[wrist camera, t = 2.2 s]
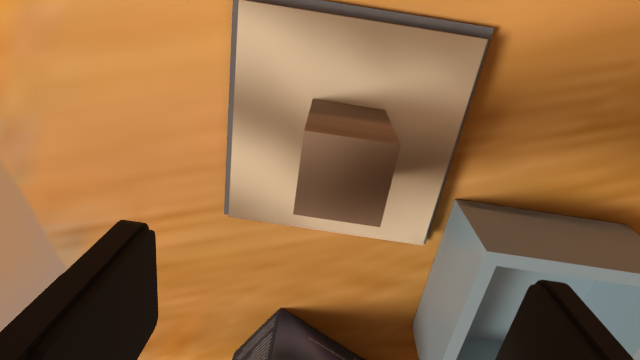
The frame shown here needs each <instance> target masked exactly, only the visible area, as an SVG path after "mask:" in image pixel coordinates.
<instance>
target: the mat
mask: <svg viewBox="0 0 640 360" xmlns="http://www.w3.org/2000/svg"><path fill="white" fill-rule="evenodd" d="M247 1H253V2H259V3H266V4H272V5H278V6H284V7H291V8H297V9H303V10H309V11H316V12H322V13H328V14H334V15H341V16H347V17H353V18H359V19H366V20H372V21H378V22H384V23H391V24H397V25H403V26H410V27H416V28H422V29H428V30H435V31H441V32H447V33H453V34H460V35H466V36H472V37H478V38H483V39H488V41H487V44H486V47H485V50H484V54H483V57H482V60H481V63H480V66H479V69H478V73H477V76H476V79H475V82H474V85H473V88H472V92H471V95H470V98H469V101H468V104H467V107H466V110H465V114H464V117H463V120H462V123H461V126H460V129H459V133H458V136H457V139H456V142H455V145H454V148H453V152H452V155H451V158H450V161H449V164H448V167H447V170H446V174H445V177H444V180H443V183H442V186H441V189H440V193H439V196H438V199H437V202H436V205H435V208H434V212H433V215H432V218H431V221H430V224H429V227H428V230H427V234H426V237H425V240H424V244H426V240H427V237H428V234H429V231H430V228H431V225H432V222H433V219H434V215H435V212H436V209H437V206H438V203H439V200H440V197H441V193H442V190H443V187H444V184H445V181H446V178H447V175H448V172H449V168H450V165H451V162H452V159H453V156H454V153H455V150H456V147H457V143H458V140H459V137H460V134H461V131H462V128H463V125H464V122H465V118H466V115H467V112H468V109H469V106H470V103H471V100H472V96H473V93H474V90H475V87H476V84H477V81H478V78H479V75H480V71H481V68H482V65H483V62H484V59H485V56H486V53H487V50H488V46H489V43H490V40H491V37H492V34H493V31H494V28H491V27H485V26H479V25H473V24H467V23H460V22H454V21H448V20H442V19H435V18H429V17H423V16H417V15H411V14H404V13H398V12H392V11H386V10H379V9H373V8H367V7H361V6H355V5H348V4H342V3H336V2H330V1H323V0H247ZM238 4H239V0H233V12H232V37H231V61H230V85H229V110H228V134H227V158H226V183H225V207H224V214H227V215H229V196H230V174H231V153H232V132H233V110H234V89H235V68H236V46H237V25H238Z"/></svg>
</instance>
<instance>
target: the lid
mask: <svg viewBox="0 0 640 360" xmlns="http://www.w3.org/2000/svg"><path fill="white" fill-rule="evenodd" d="M487 41H488V39H483V38H478V37H472V36H466V35H460V34H453V33H447V32H441V31H435V30H428V29H422V28H416V27H410V26H403V25H397V24H391V23H384V22H378V21H372V20H366V19H359V18H353V17H347V16H341V15H334V14H328V13H322V12H316V11H309V10H303V9H297V8H291V7H284V6H278V5H272V4H266V3H259V2H253V1H247V0H239V4H238V25H237V46H236V68H235V89H234V110H233V132H232V153H231V174H230V196H229V217H233V218H240V219H247V220H254V221H261V222H267V223H274V224H281V225H288V226H294V227H301V228H308V229H315V230H322V231H328V232H335V233H342V234H349V235H355V236H362V237H369V238H376V239H383V240H389V241H396V242H403V243H410V244H416V245H423V243H424V240H425V237H426V234H427V230H428V227H429V224H430V221H431V218H432V215H433V212H434V208H435V205H436V202H437V199H438V196H439V193H440V189H441V186H442V183H443V180H444V177H445V174H446V170H447V167H448V164H449V161H450V158H451V155H452V152H453V148H454V145H455V142H456V139H457V136H458V133H459V129H460V126H461V123H462V120H463V117H464V114H465V110H466V107H467V104H468V101H469V98H470V95H471V92H472V88H473V85H474V82H475V79H476V76H477V73H478V69H479V66H480V63H481V60H482V57H483V54H484V50H485V47H486V44H487Z"/></svg>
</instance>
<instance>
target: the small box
mask: <svg viewBox="0 0 640 360" xmlns="http://www.w3.org/2000/svg"><path fill="white" fill-rule="evenodd" d="M232 360H363V359H361V358H360V357H358V356H357V355H355V354H353V353H352V352H350V351H349V350H347V349H345V348H344V347H342V346H341V345H339V344H338V343H336V342H334V341H333V340H331V339H330V338H328V337H327V336H325V335H323V334H322V333H320V332H319V331H317V330H315V329H314V328H312V327H311V326H309V325H308V324H306V323H305V322H303V321H301V320H300V319H298V318H297V317H295V316H294V315H292V314H291V313H289V312H287V311H286V310H284V309H283V308H280V309H279V310H278V311H277V312H276V313H274V314H273V316H271V317H270V318H269V319H268V320H267V321H266V322H265V323H264V324H263V325H262V326H261V327H260V328H259V329H258V330H257V331H256V332H255V333H254V334H253V335H252V336H251V337H250V338H249V339H248V340H247V341H246V342H245V343H244V344H243V345H242V346H241V347H240V348H239V349H238V350H237V351H236V352H235V353H234V355H233V359H232Z"/></svg>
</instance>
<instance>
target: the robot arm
mask: <svg viewBox="0 0 640 360" xmlns="http://www.w3.org/2000/svg"><path fill="white" fill-rule="evenodd" d="M157 320H158V296H157V269H156V241H155V232H154V231H153V230H149V227H148V225H147V224H146V223H141V222H134V221H127V220H120V221H119V222H117V223H116V224H115V225H114V226H113V227H112V228H111V229H110V230H109V231H108V232H107V233H106V234H105V235H104V236H103V237H102V238H100V239H99V240H98V241H97V242H96V243H95V244H94V245H93V246H92V247H91V248H90V249H89V250H88V251H87V252H86V253H85V254H84V255H83V256H82V257H80V258H79V259H78V260H77V261H76V262H75V263H74V264H73V265H72V266H71V267H70V268H69V269H68V270H67V271H66V272H65V273H63V274H62V275H60V276H59V277H58V278H57V279H56V280H55V281H54V282H53V283H52V284H51V285H50V286H49V287H48V288H47V289H45V291H43V292H42V293H41V294H40V295H39V296H38V297H37V298H36V299H35V300H34V301H33V302H32V303H31V304H30V305H29V306H27V307H26V308H25V309H24V310H23V311H22V312H21V313H20V314H19V315H18V316H17V317H16V318H15V319H14V320H13V321H12V322H11V323H9V324H8V325H7V326H6V327H5V328H4V329H3V330H2V331H1V332H0V360H137V359H138V357H139V355H140V354H141V352H142V350H143V348H144V347H145V345H146V343H147V341H148V340H149V338H150V336H151V334H152V333H153V331H154V329H155V326H156V324H157ZM495 360H634V359H633V358H632V357H631V355H630V354H629V353H628V352H627V351H626V350H625V349H624V347H623V346H622V345H621V344H620V343H619V342H618V341H617V339H616V338H615V337H614V336H613V335H612V334H611V333H610V331H609V330H608V329H607V328H606V327H605V326H604V325H603V323H602V322H601V321H600V320H599V319H598V318H597V317H596V316H595V314H594V313H593V312H592V311H591V310H590V309H589V308H588V306H587V305H586V304H585V303H584V302H583V301H582V300H581V298H580V297H579V296H578V295H577V294H576V293H575V292H574V290H573V289H572V288H571V287H570V286H569V285H568V284H566V283H562V282H555V281H548V280H539V281H537V282H536V283H535V284H533V285H531V286H529V288H528V290H527V292H526V294H525V296H524V298H523V300H522V302H521V305H520V307H519V309H518V311H517V313H516V315H515V318H514V320H513V322H512V324H511V326H510V328H509V331H508V333H507V335H506V337H505V339H504V341H503V344H502V346H501V348H500V350H499V352H498V354H497V356H496V359H495Z"/></svg>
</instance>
